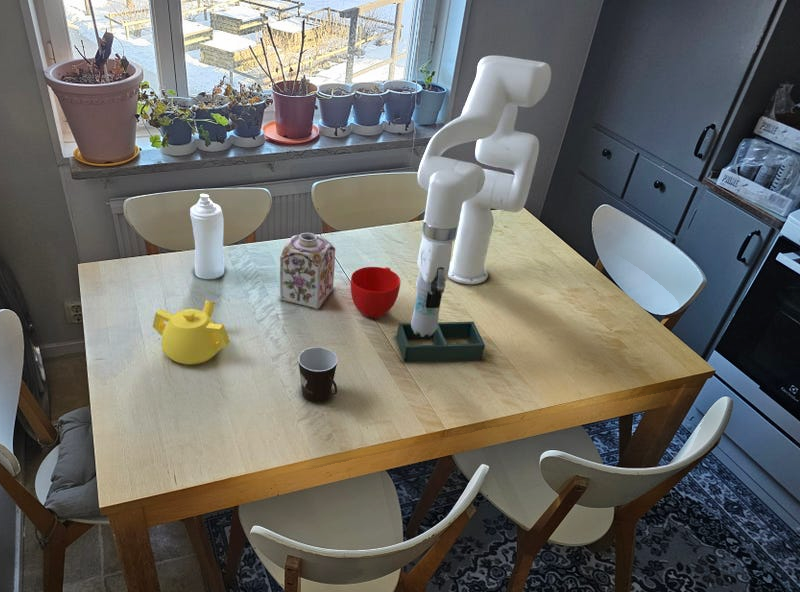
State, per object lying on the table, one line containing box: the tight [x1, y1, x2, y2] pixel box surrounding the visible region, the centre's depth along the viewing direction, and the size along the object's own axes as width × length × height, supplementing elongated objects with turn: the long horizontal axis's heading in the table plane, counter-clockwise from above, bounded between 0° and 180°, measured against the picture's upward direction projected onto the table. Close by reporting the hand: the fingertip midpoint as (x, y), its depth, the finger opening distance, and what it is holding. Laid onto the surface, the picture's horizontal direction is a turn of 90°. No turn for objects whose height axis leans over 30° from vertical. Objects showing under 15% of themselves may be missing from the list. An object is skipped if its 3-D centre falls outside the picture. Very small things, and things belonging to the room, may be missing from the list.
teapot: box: [152, 300, 231, 366], centre depth 153 cm, size 20×18×11 cm
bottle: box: [410, 270, 446, 337], centre depth 149 cm, size 7×7×20 cm
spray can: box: [189, 193, 226, 280], centre depth 175 cm, size 12×11×25 cm
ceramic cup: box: [350, 266, 402, 319], centre depth 169 cm, size 13×17×10 cm
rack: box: [396, 321, 486, 363], centre depth 157 cm, size 10×19×4 cm, turn 95°
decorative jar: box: [279, 232, 336, 310], centre depth 171 cm, size 12×12×18 cm
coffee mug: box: [297, 346, 339, 404], centre depth 139 cm, size 12×9×10 cm
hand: (428, 298), depth 149 cm, fingers closed on bottle, 6 cm apart
